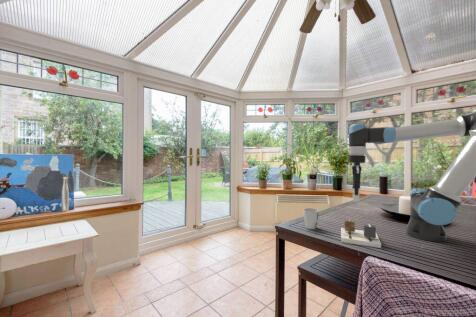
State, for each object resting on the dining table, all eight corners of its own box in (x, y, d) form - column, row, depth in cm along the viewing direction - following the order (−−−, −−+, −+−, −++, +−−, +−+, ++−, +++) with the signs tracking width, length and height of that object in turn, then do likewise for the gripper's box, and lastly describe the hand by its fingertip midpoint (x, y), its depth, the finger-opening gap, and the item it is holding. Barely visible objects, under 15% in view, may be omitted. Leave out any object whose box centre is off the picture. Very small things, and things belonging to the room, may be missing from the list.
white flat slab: (375, 236, 106) (375, 231, 106) (381, 248, 93) (381, 242, 93) (341, 231, 113) (341, 227, 113) (341, 242, 99) (341, 237, 99)
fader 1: (354, 229, 107) (354, 220, 107) (354, 232, 104) (354, 221, 104) (344, 228, 109) (344, 218, 109) (344, 230, 106) (344, 220, 106)
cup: (319, 230, 115) (319, 212, 115) (304, 229, 116) (304, 211, 116) (317, 225, 123) (317, 208, 122) (302, 225, 124) (302, 207, 124)
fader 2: (374, 235, 99) (374, 225, 99) (375, 238, 96) (375, 227, 96) (363, 234, 101) (363, 223, 101) (364, 236, 98) (364, 225, 98)
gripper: (347, 154, 116) (346, 197, 117) (349, 154, 104) (348, 203, 105) (363, 154, 113) (362, 199, 114) (367, 155, 101) (366, 204, 102)
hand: (355, 200), depth 109 cm, fingers closed
